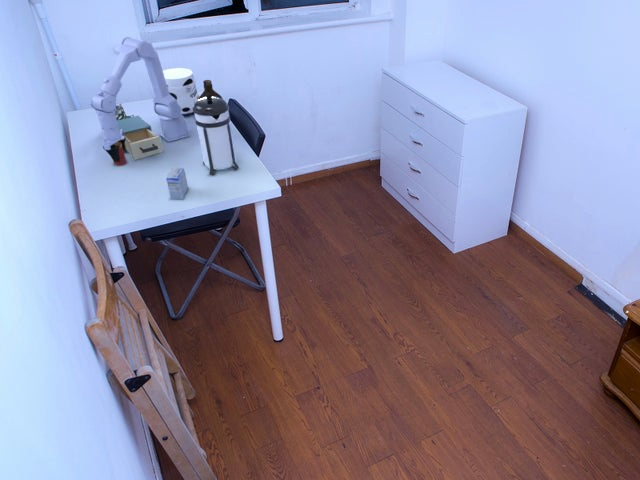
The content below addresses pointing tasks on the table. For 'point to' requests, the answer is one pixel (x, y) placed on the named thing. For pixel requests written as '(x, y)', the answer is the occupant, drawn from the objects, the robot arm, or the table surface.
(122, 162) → the tea tin
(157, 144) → the drawer
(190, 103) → the milk container
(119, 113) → the passion flower
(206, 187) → the table surface
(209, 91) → the olive oil
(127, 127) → the cabinet
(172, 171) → the medicine box
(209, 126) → the coffee press
